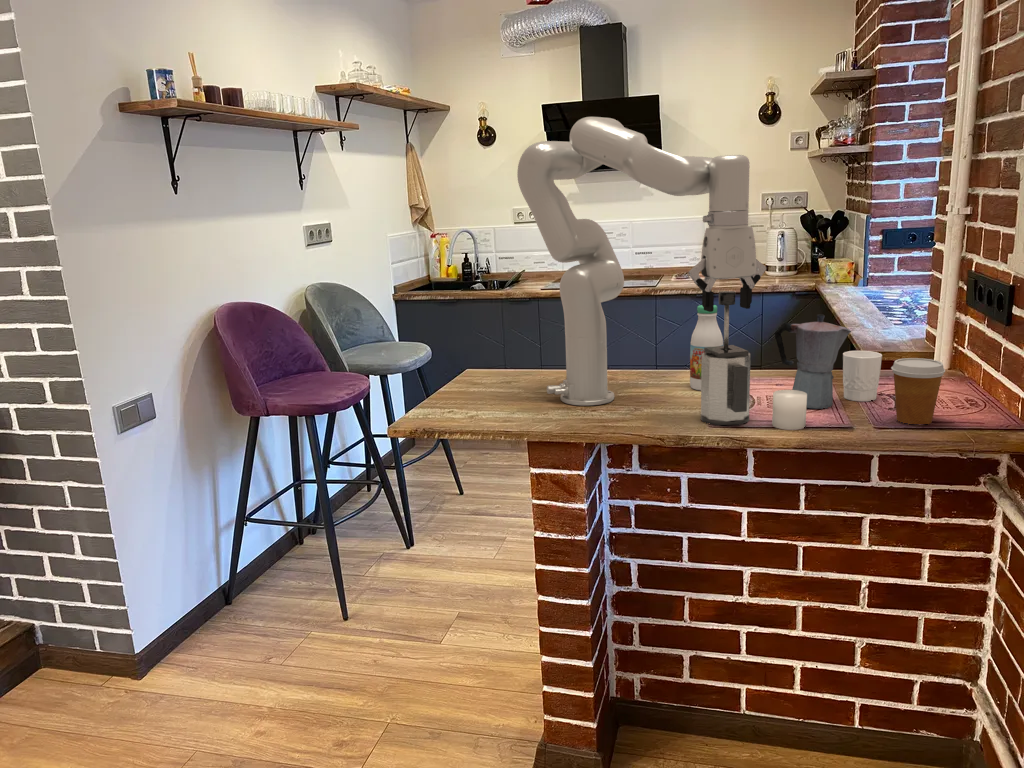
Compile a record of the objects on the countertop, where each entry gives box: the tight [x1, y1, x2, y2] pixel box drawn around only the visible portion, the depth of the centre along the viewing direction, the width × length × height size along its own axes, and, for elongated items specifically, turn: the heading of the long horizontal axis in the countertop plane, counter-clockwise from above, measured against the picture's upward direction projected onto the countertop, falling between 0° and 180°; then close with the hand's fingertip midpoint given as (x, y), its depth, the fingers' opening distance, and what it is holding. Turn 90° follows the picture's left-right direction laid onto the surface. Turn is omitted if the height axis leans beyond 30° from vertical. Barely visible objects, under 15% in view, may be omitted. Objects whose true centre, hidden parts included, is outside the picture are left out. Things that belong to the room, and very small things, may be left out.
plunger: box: [709, 290, 743, 358], centre depth 162 cm, size 7×7×14 cm
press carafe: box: [700, 344, 752, 426], centre depth 164 cm, size 10×12×15 cm
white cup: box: [842, 350, 883, 402], centre depth 177 cm, size 8×8×10 cm
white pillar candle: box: [771, 389, 807, 431], centre depth 160 cm, size 6×6×7 cm
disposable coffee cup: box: [890, 357, 946, 425], centre depth 158 cm, size 10×10×12 cm
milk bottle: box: [689, 304, 724, 391], centre depth 191 cm, size 8×8×20 cm
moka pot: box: [774, 313, 852, 410], centre depth 172 cm, size 10×15×20 cm, turn 78°
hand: (726, 308), depth 161 cm, fingers open, 7 cm apart
